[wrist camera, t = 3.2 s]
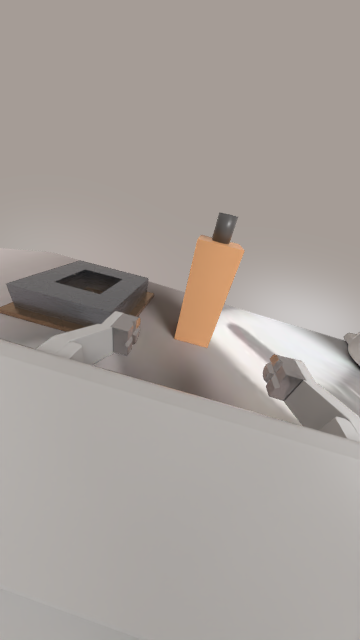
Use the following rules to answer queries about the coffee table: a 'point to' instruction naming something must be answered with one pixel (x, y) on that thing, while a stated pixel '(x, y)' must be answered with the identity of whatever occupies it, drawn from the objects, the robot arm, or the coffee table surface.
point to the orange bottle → (209, 282)
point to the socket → (76, 296)
